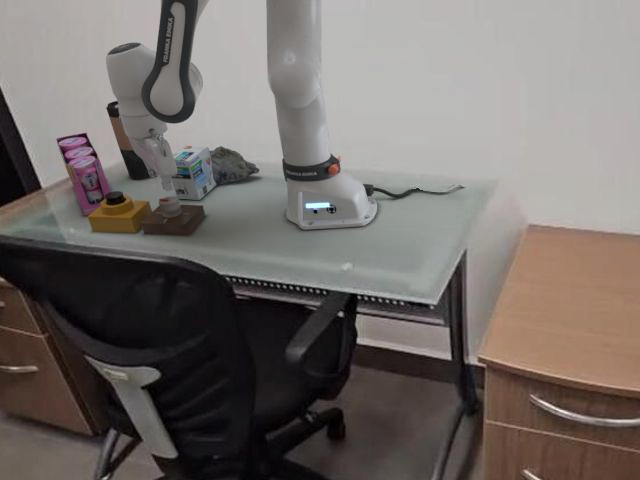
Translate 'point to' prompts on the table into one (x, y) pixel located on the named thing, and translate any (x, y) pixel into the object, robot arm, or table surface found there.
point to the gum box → (84, 171)
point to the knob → (170, 207)
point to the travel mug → (126, 145)
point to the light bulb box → (193, 172)
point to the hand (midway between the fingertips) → (161, 182)
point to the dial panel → (174, 221)
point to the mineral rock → (230, 166)
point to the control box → (120, 216)
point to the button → (115, 198)
